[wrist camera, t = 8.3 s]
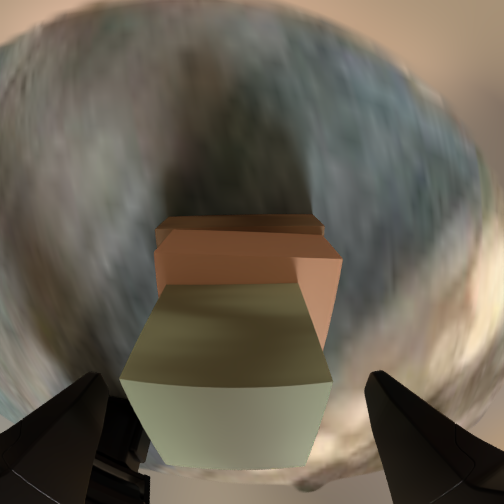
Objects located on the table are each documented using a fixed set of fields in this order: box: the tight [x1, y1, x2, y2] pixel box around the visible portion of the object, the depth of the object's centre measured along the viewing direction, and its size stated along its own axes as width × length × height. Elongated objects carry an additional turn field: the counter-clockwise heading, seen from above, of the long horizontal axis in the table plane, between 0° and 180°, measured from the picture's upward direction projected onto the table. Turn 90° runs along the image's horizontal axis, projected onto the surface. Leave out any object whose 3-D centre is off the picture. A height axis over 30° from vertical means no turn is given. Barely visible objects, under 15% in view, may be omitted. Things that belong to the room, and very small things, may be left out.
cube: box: [119, 283, 333, 470], centre depth 9 cm, size 5×5×5 cm
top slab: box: [154, 229, 343, 351], centre depth 12 cm, size 7×7×3 cm
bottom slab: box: [155, 214, 325, 248], centre depth 15 cm, size 8×8×3 cm
